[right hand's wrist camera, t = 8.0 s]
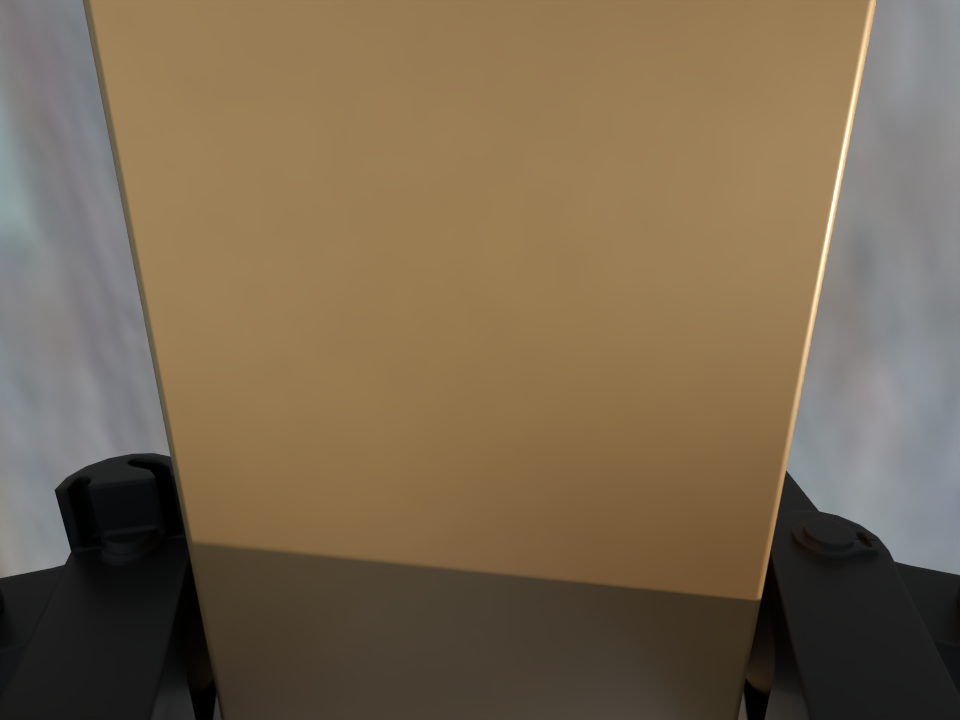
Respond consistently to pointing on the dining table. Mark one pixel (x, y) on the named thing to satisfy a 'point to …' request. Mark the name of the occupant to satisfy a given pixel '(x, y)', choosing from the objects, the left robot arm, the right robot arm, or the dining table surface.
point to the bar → (479, 334)
